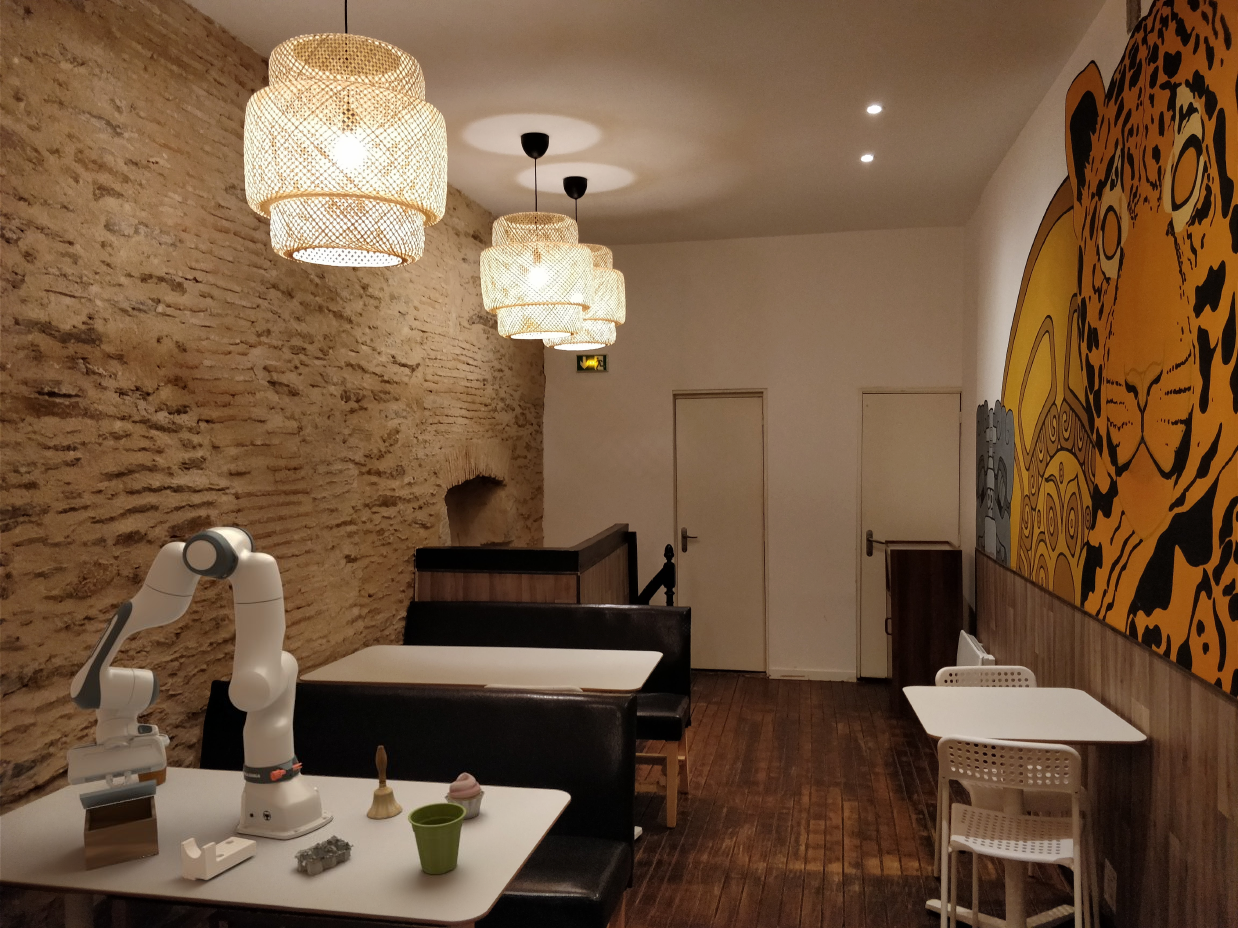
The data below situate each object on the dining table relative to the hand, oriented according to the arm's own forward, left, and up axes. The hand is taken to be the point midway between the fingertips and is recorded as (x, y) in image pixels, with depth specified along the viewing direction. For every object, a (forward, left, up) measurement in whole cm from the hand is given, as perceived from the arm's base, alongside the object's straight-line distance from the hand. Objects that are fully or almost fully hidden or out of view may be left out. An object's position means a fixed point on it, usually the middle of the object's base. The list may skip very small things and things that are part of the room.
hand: (118, 793), depth 210 cm
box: (-3, +2, -11) cm, 12 cm away
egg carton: (-51, -15, -12) cm, 55 cm away
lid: (-3, +1, 0) cm, 3 cm away
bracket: (-32, -4, -12) cm, 35 cm away
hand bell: (-42, -40, -12) cm, 60 cm away
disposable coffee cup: (+32, -25, -12) cm, 42 cm away
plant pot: (-75, -25, -12) cm, 80 cm away
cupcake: (-61, -48, -12) cm, 79 cm away
